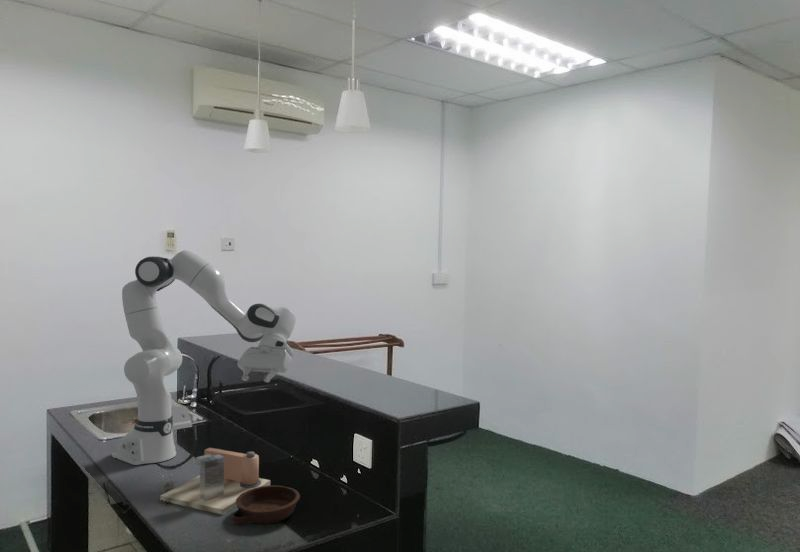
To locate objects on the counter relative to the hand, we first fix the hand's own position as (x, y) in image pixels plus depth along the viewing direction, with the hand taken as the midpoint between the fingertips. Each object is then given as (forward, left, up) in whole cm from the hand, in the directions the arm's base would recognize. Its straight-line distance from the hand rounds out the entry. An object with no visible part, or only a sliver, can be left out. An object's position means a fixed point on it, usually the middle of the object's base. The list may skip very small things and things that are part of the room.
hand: (255, 380), depth 202 cm
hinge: (-57, +20, -30) cm, 67 cm away
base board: (+4, -24, -29) cm, 38 cm away
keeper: (+5, -29, -28) cm, 41 cm away
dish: (+26, -29, -30) cm, 49 cm away
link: (+4, -17, -27) cm, 33 cm away
